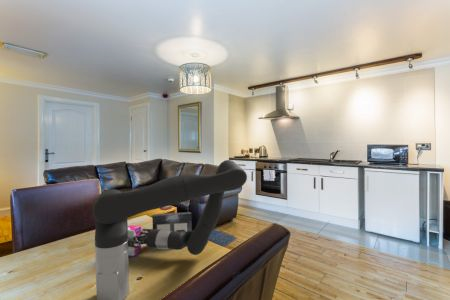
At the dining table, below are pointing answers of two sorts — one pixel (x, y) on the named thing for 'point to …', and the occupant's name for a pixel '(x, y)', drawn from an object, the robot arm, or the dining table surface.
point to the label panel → (172, 221)
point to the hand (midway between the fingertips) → (126, 236)
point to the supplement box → (131, 233)
